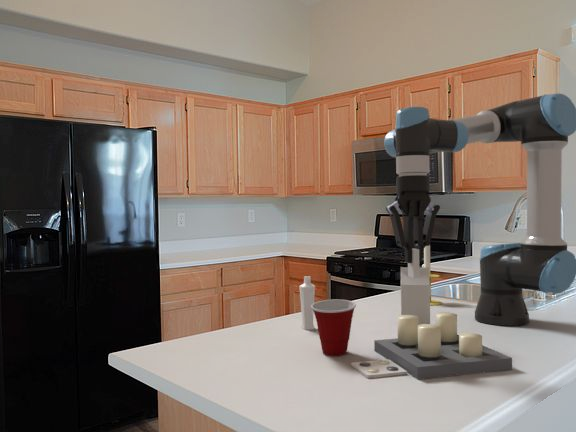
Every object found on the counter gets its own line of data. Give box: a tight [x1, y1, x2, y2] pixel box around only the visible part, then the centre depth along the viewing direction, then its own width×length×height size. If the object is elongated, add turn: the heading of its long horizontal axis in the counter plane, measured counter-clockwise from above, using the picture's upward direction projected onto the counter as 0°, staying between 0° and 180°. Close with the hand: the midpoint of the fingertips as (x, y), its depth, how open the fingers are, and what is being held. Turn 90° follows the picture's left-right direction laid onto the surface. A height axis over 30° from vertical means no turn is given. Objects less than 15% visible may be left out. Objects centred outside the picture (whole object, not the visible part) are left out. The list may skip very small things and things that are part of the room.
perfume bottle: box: [298, 275, 316, 331], centre depth 151 cm, size 5×4×15 cm
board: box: [373, 334, 513, 380], centre depth 119 cm, size 22×22×2 cm
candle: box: [423, 244, 443, 307], centre depth 186 cm, size 10×10×27 cm
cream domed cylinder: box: [418, 323, 441, 357], centre depth 113 cm, size 5×5×6 cm
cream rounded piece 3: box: [397, 314, 419, 345], centre depth 123 cm, size 5×5×6 cm
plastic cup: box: [311, 298, 357, 357], centre depth 126 cm, size 11×11×12 cm
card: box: [351, 359, 408, 379], centre depth 112 cm, size 9×9×1 cm
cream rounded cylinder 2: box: [458, 332, 483, 358], centre depth 115 cm, size 5×5×6 cm
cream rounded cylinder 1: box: [435, 311, 458, 342], centre depth 125 cm, size 5×5×6 cm
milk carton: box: [400, 266, 431, 325], centre depth 136 cm, size 7×7×19 cm
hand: (413, 276), depth 121 cm, fingers closed
